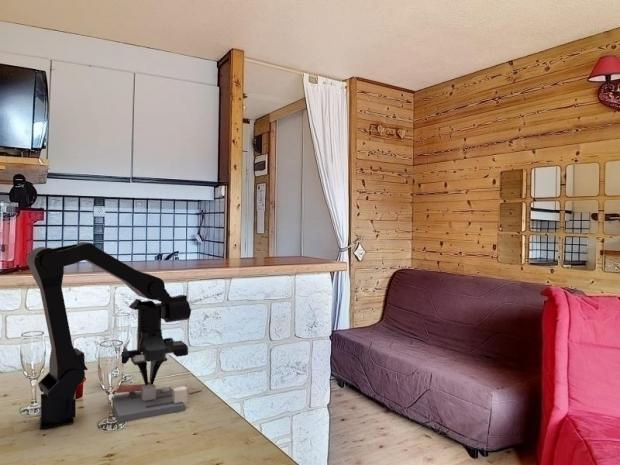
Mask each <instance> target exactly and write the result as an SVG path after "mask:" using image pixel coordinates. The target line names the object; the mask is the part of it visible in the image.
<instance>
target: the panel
mask: <svg viewBox="0 0 620 465" xmlns="http://www.w3.org/2000/svg"><path fill="white" fill-rule="evenodd" d="M113 396H114V398H113V409H112V411H113V410H114V411H113V413H114V415H115V416H114V417H115V418H116V420H117V423H125V422H130V421H134V420H141V419H147V418H153V417H157V416H164V415H167V414H168V415H169V414H172V413H173V414H174V413H179V412H185V410H186V405H185V402H180V403H174V402H173V401H172V387H171V386H164V387H160V388H156V399H153V400H147V401H143V400H142V399H141V391H137V392H127V393H124V394H115V395H113Z"/></svg>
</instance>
